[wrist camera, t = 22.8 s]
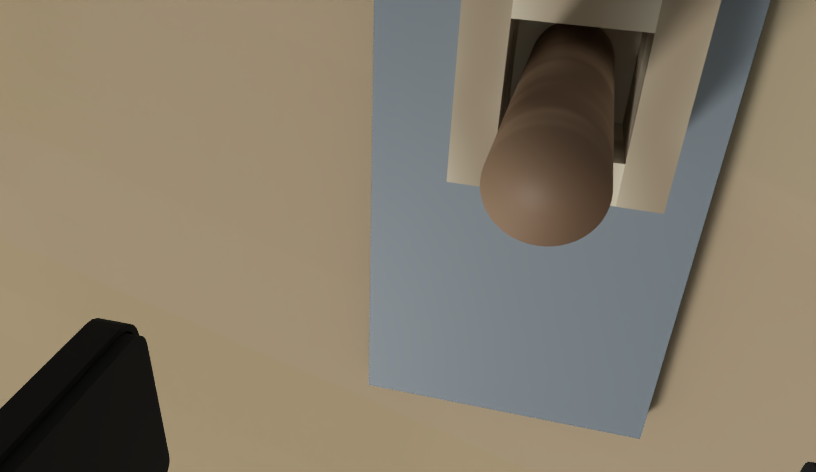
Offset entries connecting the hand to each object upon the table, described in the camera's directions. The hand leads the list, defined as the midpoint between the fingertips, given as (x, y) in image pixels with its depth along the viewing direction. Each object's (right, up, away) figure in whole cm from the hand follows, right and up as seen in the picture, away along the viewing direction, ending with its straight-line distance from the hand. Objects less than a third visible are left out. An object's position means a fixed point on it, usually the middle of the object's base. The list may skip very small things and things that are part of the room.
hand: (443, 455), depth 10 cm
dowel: (+6, +10, +17) cm, 21 cm away
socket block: (+6, +10, +18) cm, 22 cm away
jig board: (+5, +5, +23) cm, 24 cm away
